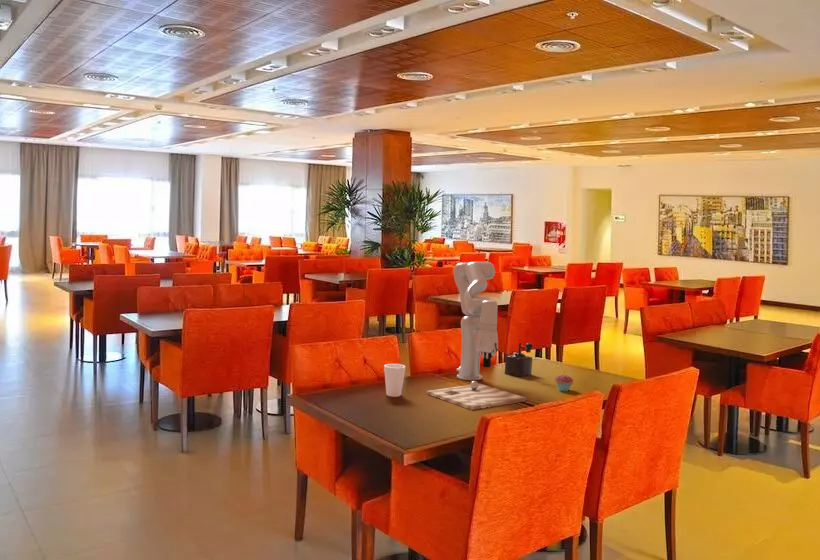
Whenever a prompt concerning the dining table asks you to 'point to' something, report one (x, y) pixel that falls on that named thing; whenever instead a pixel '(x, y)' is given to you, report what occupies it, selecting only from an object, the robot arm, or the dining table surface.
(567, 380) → the cupcake
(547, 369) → the dining table surface
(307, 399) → the dining table surface
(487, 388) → the maple board
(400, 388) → the foam cup
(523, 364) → the coffee grinder
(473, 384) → the steel ball
